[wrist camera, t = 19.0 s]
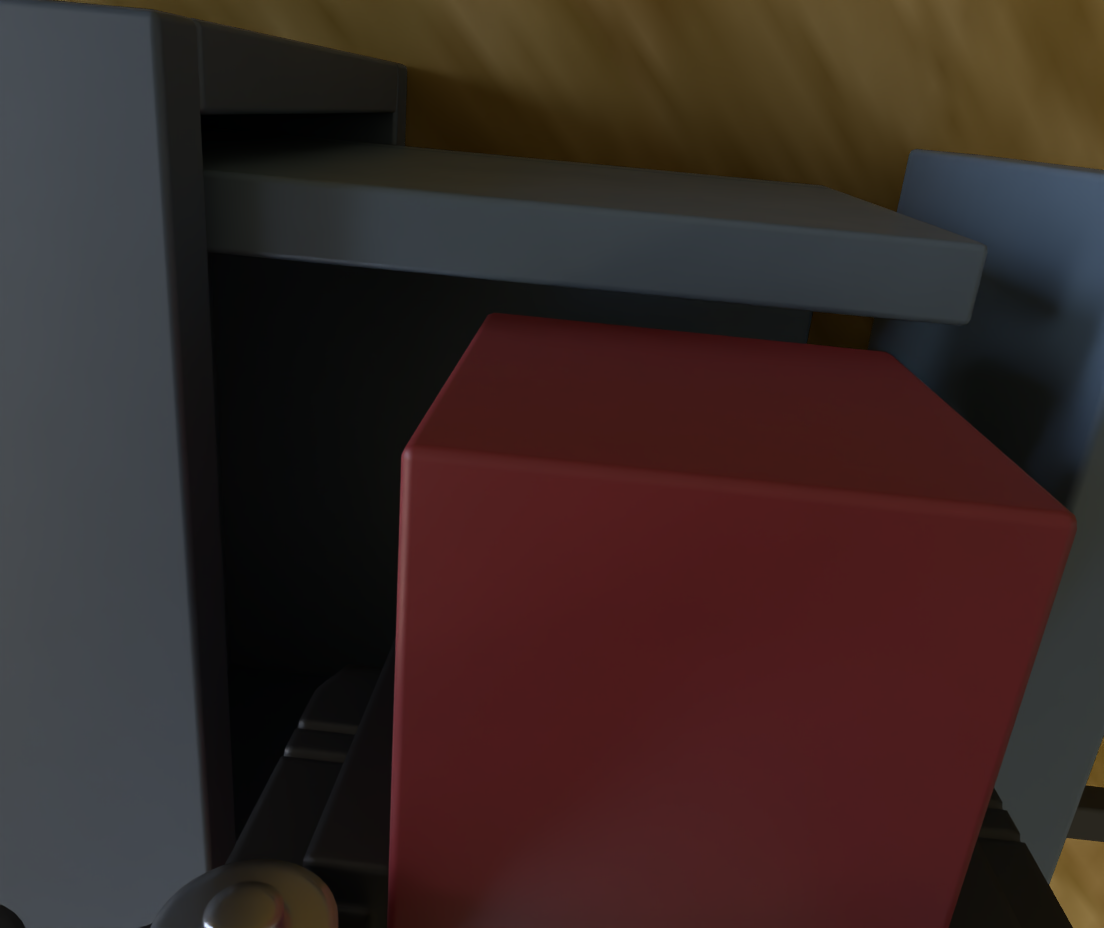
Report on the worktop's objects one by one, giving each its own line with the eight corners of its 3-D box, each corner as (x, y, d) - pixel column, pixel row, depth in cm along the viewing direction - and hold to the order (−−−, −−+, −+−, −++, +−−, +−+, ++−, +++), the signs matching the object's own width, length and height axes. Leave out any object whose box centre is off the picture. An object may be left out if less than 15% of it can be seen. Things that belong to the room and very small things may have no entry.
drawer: (1279, 182, 15) (1884, 246, 8) (1065, 784, 20) (1326, 1177, 12) (185, 80, 16) (-181, 55, 9) (218, 690, 20) (-5, 1014, 13)
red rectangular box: (487, 310, 9) (398, 446, 5) (892, 350, 9) (1088, 518, 5) (445, 973, 12) (371, 1344, 9) (743, 1009, 12) (799, 1402, 9)
